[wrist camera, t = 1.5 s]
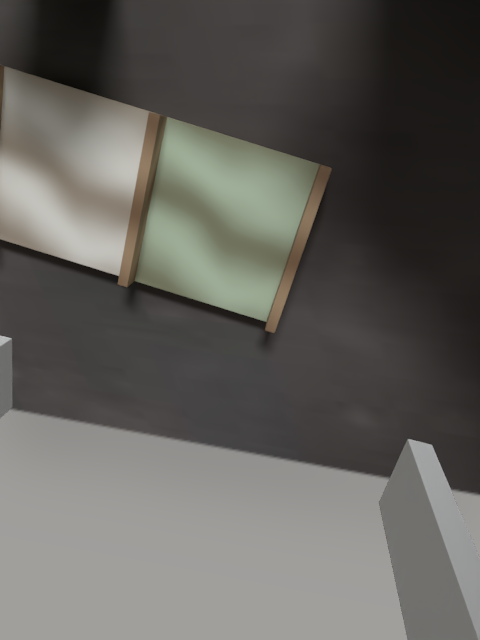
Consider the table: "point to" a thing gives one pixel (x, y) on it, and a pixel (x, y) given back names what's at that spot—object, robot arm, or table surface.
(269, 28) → the table surface
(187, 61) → the table surface
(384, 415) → the table surface
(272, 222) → the wooden divided tray
